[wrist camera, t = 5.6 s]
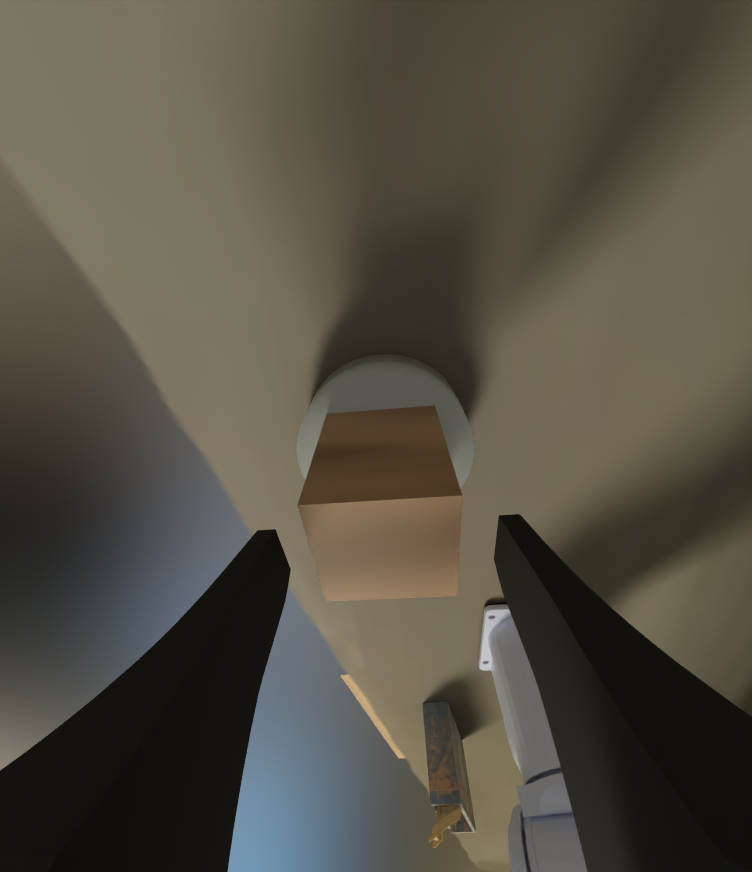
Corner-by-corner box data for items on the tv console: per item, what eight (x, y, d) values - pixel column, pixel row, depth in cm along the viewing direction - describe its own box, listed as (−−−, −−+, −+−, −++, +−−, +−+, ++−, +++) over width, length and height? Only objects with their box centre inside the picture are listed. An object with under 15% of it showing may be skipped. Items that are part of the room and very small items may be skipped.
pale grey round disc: (459, 478, 19) (471, 516, 17) (325, 488, 20) (316, 526, 17) (463, 342, 15) (479, 365, 12) (293, 360, 16) (275, 385, 13)
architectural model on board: (418, 698, 35) (428, 842, 27) (446, 696, 35) (465, 841, 26) (436, 737, 41) (449, 865, 32) (461, 735, 40) (481, 865, 32)
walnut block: (435, 488, 16) (456, 596, 11) (342, 494, 16) (326, 601, 11) (434, 404, 13) (462, 495, 9) (326, 413, 14) (297, 505, 9)
